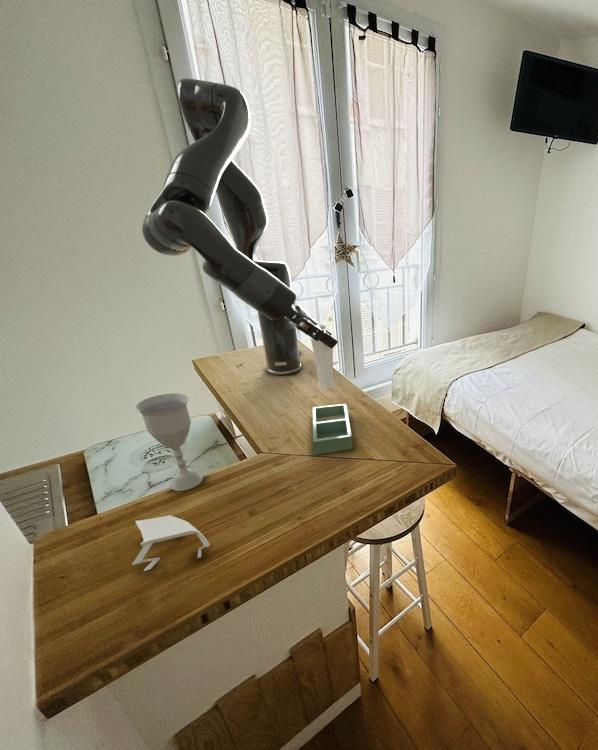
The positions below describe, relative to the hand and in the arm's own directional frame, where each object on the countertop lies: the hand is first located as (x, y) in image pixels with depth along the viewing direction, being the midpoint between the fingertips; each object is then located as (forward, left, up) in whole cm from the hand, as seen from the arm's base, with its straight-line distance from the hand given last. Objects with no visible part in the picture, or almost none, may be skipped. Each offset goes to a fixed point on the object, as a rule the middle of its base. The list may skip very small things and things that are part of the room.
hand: (331, 340), depth 91 cm
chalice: (+14, -29, -23) cm, 39 cm away
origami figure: (+32, -27, -23) cm, 48 cm away
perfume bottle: (0, -2, -11) cm, 11 cm away
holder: (+4, -2, -23) cm, 23 cm away
